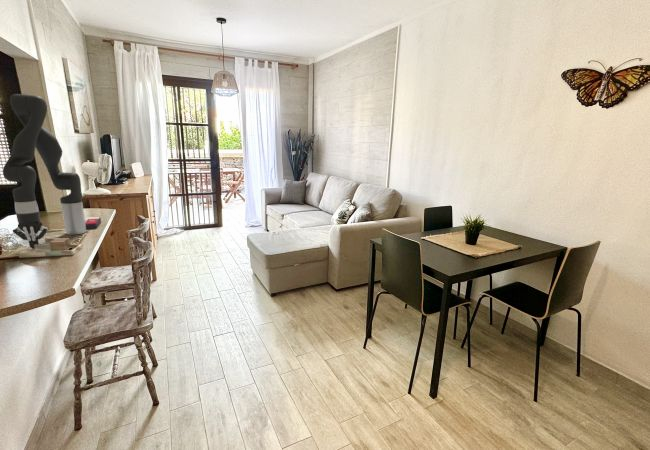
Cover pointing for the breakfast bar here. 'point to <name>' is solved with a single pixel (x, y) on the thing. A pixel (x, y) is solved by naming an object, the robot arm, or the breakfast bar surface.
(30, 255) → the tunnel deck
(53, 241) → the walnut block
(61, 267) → the breakfast bar surface
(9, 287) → the breakfast bar surface
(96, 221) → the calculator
